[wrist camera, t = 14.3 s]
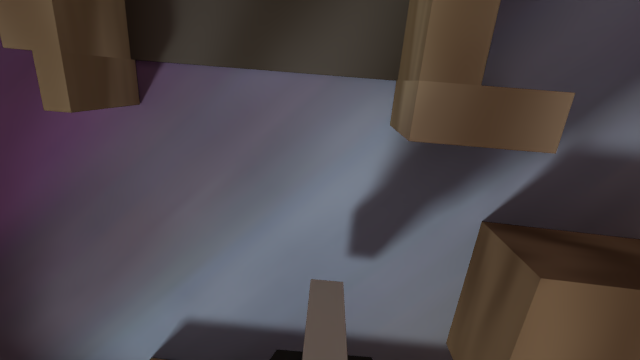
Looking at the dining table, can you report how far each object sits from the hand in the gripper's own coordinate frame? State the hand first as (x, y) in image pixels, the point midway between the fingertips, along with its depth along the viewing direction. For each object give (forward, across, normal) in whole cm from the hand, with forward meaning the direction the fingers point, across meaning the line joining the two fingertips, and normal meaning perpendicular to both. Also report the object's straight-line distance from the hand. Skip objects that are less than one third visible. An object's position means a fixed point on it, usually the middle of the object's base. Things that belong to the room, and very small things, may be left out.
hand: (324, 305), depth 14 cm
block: (+3, +12, 0) cm, 12 cm away
